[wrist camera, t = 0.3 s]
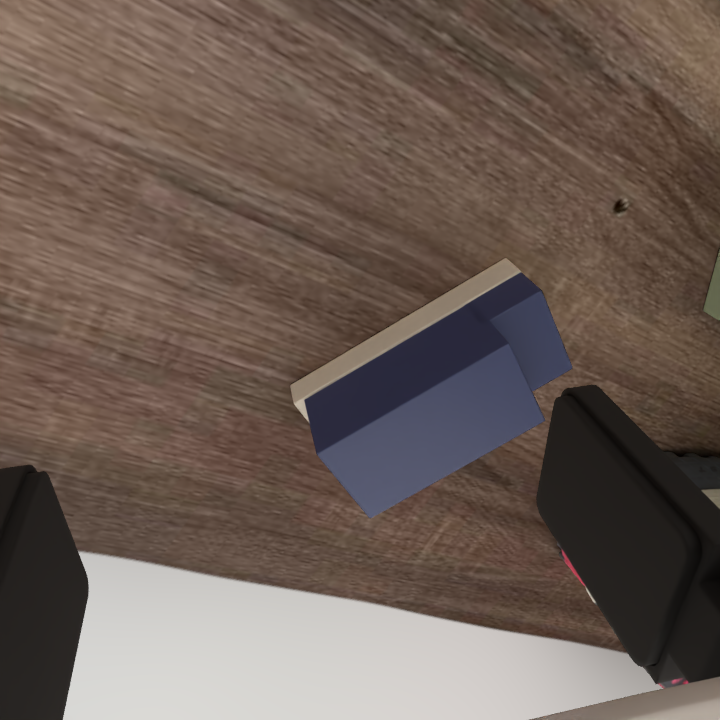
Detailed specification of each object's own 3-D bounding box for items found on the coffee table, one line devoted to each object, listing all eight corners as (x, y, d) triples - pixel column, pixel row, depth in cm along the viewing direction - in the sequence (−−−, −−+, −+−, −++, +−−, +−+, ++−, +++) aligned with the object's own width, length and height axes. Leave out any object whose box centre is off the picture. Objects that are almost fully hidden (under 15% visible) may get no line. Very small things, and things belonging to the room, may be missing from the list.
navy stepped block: (289, 385, 29) (304, 458, 25) (505, 257, 28) (564, 308, 23) (339, 448, 32) (361, 525, 27) (538, 333, 31) (597, 394, 26)
